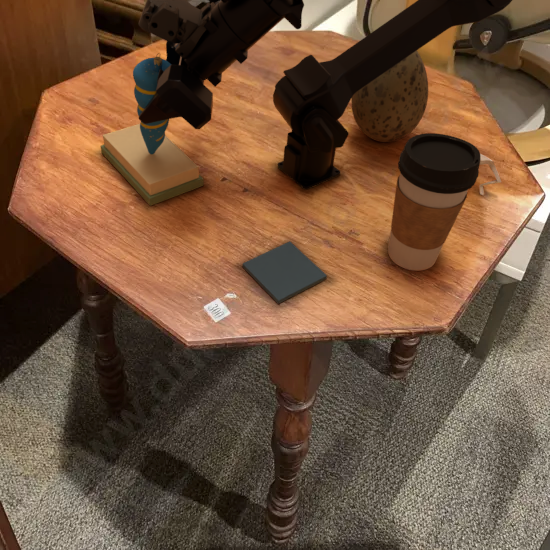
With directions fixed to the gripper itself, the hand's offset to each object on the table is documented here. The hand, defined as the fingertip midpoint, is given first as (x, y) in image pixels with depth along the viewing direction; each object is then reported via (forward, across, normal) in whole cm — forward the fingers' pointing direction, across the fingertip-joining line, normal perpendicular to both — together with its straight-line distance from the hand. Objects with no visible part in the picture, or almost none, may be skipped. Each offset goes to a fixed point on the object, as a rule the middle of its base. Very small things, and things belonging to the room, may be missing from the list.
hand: (144, 109), depth 74 cm
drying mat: (-5, +17, +20) cm, 26 cm away
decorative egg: (-16, -13, +31) cm, 37 cm away
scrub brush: (+8, -2, +7) cm, 11 cm away
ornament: (+5, -2, +5) cm, 8 cm away
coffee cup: (-16, +13, +31) cm, 37 cm away
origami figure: (-22, -1, +36) cm, 42 cm away
